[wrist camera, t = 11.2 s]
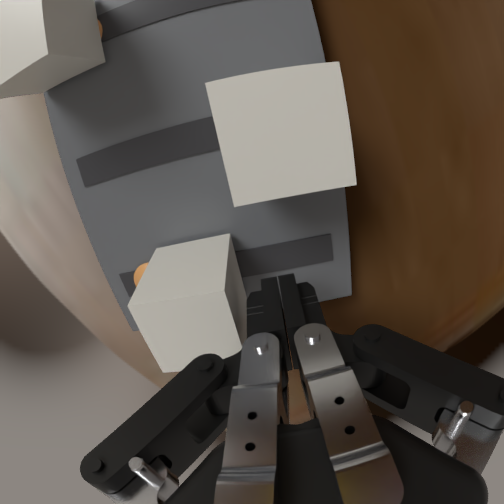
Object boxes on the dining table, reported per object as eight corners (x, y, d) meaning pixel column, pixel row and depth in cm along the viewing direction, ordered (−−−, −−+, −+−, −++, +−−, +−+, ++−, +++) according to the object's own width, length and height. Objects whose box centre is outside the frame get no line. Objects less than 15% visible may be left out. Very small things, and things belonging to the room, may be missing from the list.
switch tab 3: (307, 72, 12) (338, 61, 8) (322, 156, 14) (356, 185, 10) (219, 88, 13) (204, 82, 8) (237, 171, 14) (234, 207, 10)
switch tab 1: (93, -4, 10) (39, -30, 5) (105, 62, 12) (48, 54, 7) (31, 31, 10) (-30, 23, 6) (42, 93, 12) (-22, 102, 7)
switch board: (284, -61, 10) (288, -74, 8) (345, 281, 19) (352, 296, 18) (45, 15, 11) (29, 11, 9) (138, 316, 21) (132, 332, 19)
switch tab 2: (230, 233, 16) (224, 290, 11) (246, 297, 18) (247, 363, 13) (156, 248, 16) (127, 305, 12) (179, 308, 18) (163, 372, 14)
